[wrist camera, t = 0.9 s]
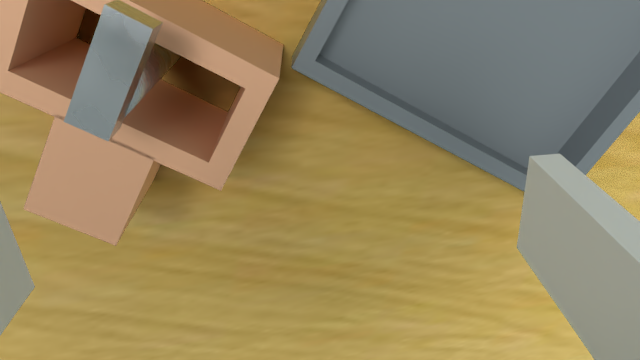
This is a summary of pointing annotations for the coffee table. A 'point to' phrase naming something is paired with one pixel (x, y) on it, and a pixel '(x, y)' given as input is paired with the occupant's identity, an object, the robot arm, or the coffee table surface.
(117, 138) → the salmon open box
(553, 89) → the tray
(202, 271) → the coffee table surface
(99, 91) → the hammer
